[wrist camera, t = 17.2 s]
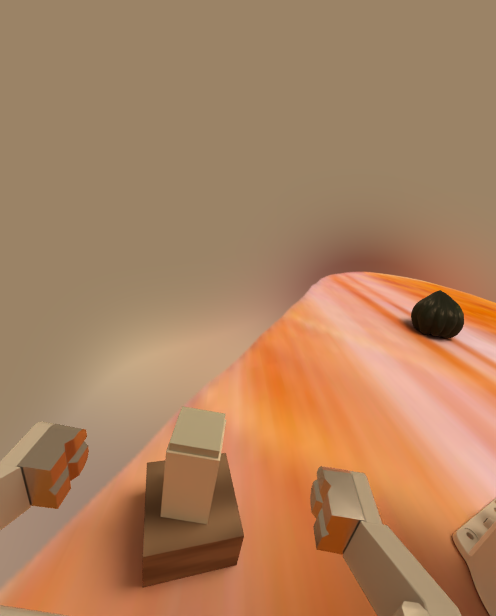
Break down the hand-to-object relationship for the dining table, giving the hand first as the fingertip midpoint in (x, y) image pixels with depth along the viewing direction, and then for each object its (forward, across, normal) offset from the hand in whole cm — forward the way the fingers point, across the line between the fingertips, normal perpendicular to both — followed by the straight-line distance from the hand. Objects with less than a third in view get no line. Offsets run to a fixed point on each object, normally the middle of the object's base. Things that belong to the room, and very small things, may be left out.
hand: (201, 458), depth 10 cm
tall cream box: (+14, +2, +25) cm, 29 cm away
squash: (+85, -64, +32) cm, 111 cm away
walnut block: (+14, +2, +31) cm, 34 cm away
